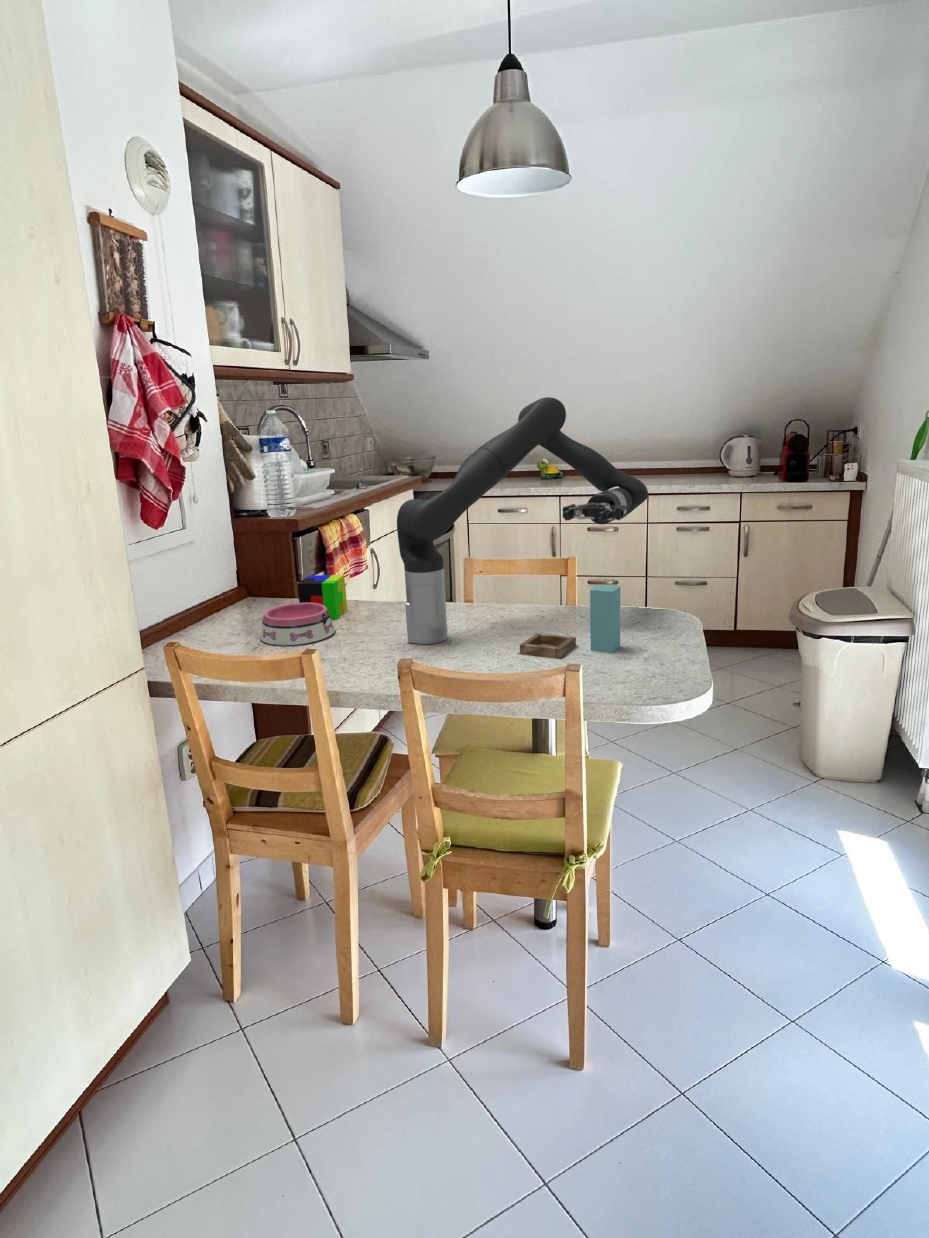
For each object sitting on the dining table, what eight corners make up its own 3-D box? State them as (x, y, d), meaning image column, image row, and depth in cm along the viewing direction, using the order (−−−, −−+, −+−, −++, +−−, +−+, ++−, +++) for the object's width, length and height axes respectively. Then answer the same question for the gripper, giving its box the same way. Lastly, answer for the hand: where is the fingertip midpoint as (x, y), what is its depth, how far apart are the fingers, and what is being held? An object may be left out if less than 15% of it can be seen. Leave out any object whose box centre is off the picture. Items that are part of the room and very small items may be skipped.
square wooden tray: (517, 658, 180) (516, 645, 180) (536, 645, 189) (535, 632, 188) (561, 663, 176) (561, 650, 175) (578, 649, 184) (578, 636, 184)
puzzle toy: (312, 610, 230) (309, 575, 228) (347, 610, 229) (344, 574, 226) (300, 620, 221) (297, 583, 218) (337, 619, 219) (333, 583, 217)
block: (590, 652, 181) (590, 590, 177) (598, 645, 185) (598, 584, 181) (612, 654, 178) (612, 591, 175) (620, 648, 182) (620, 586, 179)
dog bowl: (321, 647, 196) (318, 619, 194) (248, 647, 199) (244, 620, 198) (345, 626, 214) (342, 600, 212) (277, 626, 217) (274, 600, 215)
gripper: (579, 490, 204) (554, 499, 190) (635, 491, 197) (613, 500, 184) (579, 521, 206) (554, 531, 192) (635, 522, 199) (613, 534, 186)
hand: (583, 516), depth 188 cm, fingers open, 8 cm apart
